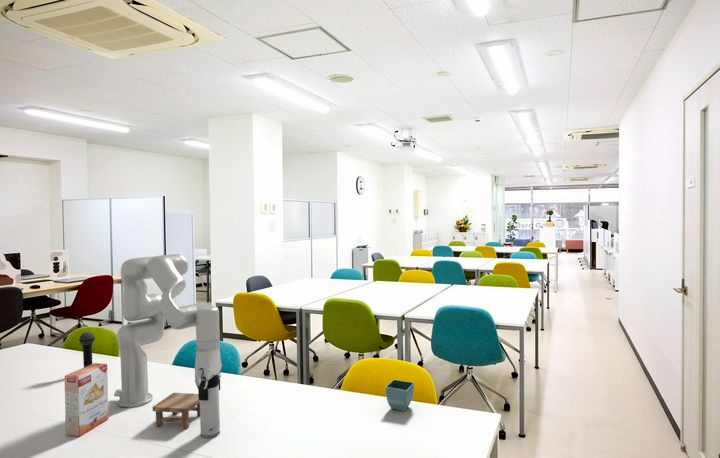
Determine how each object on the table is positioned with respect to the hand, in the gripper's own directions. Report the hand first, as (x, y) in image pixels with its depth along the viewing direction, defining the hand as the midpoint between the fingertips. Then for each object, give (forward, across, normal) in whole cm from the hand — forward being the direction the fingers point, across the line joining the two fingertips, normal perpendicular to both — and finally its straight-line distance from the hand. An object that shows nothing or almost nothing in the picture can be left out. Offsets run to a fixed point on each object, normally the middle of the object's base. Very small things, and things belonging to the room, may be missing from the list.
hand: (209, 394), depth 156 cm
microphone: (+14, -49, -88) cm, 102 cm away
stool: (+13, -8, -16) cm, 22 cm away
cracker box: (+14, +1, -46) cm, 48 cm away
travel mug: (+14, 0, 0) cm, 14 cm away
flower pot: (+14, -29, +62) cm, 70 cm away
